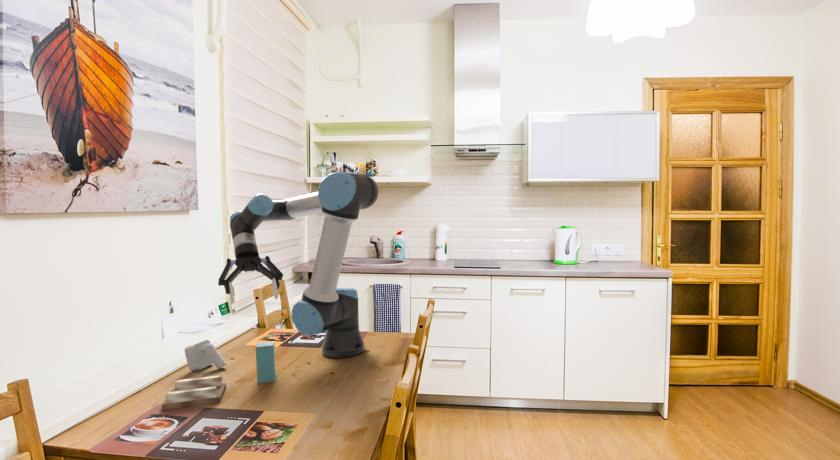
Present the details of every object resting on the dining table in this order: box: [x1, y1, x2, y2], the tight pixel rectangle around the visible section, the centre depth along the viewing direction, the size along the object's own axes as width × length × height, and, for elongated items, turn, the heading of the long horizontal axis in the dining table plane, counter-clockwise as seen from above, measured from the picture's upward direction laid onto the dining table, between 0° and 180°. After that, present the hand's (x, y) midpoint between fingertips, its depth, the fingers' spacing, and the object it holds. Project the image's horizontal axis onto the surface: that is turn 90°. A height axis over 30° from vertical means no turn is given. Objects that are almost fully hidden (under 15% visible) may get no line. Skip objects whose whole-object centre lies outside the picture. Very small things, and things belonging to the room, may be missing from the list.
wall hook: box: [184, 339, 227, 372], centre depth 145 cm, size 8×10×10 cm
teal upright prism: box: [255, 340, 277, 384], centre depth 134 cm, size 5×4×11 cm
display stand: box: [161, 374, 227, 411], centre depth 121 cm, size 14×10×4 cm
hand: (255, 298), depth 142 cm, fingers open, 13 cm apart
